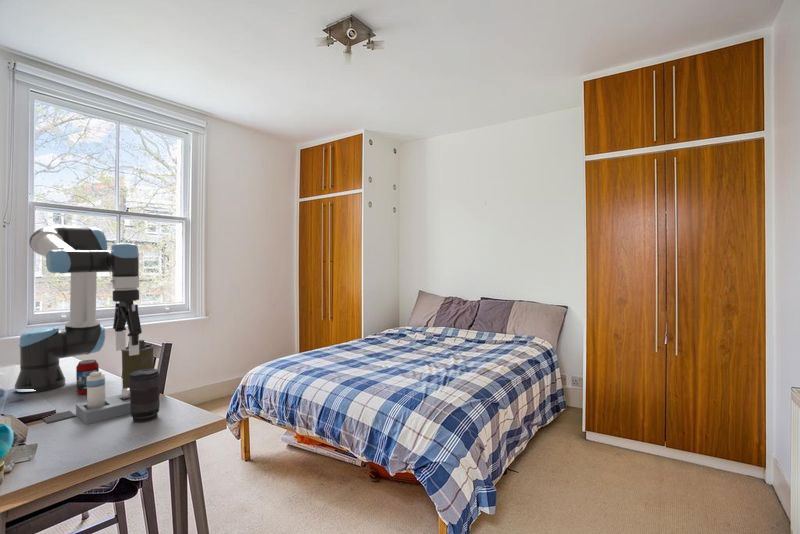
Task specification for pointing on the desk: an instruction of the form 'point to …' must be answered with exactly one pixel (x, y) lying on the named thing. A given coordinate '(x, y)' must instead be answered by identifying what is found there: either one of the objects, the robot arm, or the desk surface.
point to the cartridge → (95, 390)
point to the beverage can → (85, 374)
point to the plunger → (125, 394)
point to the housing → (103, 410)
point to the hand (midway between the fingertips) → (127, 352)
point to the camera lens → (144, 394)
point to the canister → (136, 361)
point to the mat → (59, 417)
